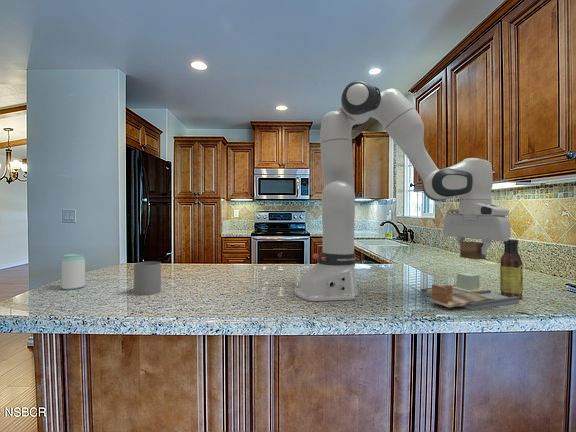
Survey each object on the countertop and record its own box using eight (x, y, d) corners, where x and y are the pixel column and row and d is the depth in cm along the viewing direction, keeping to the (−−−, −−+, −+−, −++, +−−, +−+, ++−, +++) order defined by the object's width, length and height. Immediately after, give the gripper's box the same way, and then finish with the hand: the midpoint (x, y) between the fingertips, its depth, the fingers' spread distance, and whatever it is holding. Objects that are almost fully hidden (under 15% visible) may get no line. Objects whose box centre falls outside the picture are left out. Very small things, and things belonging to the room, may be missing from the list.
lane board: (471, 310, 88) (471, 304, 88) (420, 294, 106) (420, 288, 106) (519, 302, 97) (519, 297, 97) (464, 288, 114) (464, 284, 114)
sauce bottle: (526, 300, 100) (527, 240, 100) (505, 298, 101) (506, 239, 101) (515, 294, 106) (517, 238, 106) (496, 293, 108) (497, 238, 107)
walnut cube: (474, 259, 93) (475, 243, 93) (460, 257, 97) (460, 241, 97) (485, 259, 95) (486, 243, 95) (470, 256, 99) (471, 241, 99)
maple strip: (448, 307, 87) (449, 289, 87) (429, 300, 93) (429, 284, 93) (495, 300, 95) (495, 284, 95) (473, 295, 101) (474, 279, 101)
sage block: (469, 290, 105) (469, 276, 105) (456, 287, 109) (456, 273, 109) (479, 289, 106) (479, 275, 106) (466, 286, 111) (466, 272, 111)
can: (82, 284, 113) (82, 252, 113) (87, 288, 108) (87, 254, 108) (59, 287, 108) (59, 254, 108) (63, 291, 103) (63, 256, 103)
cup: (128, 293, 102) (128, 264, 102) (148, 288, 109) (148, 260, 109) (147, 296, 99) (147, 266, 98) (165, 290, 106) (166, 262, 106)
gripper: (439, 208, 104) (438, 248, 104) (501, 209, 85) (498, 258, 85) (452, 209, 106) (451, 248, 107) (515, 210, 88) (512, 257, 88)
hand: (472, 252), depth 96 cm, fingers closed on walnut cube, 5 cm apart
